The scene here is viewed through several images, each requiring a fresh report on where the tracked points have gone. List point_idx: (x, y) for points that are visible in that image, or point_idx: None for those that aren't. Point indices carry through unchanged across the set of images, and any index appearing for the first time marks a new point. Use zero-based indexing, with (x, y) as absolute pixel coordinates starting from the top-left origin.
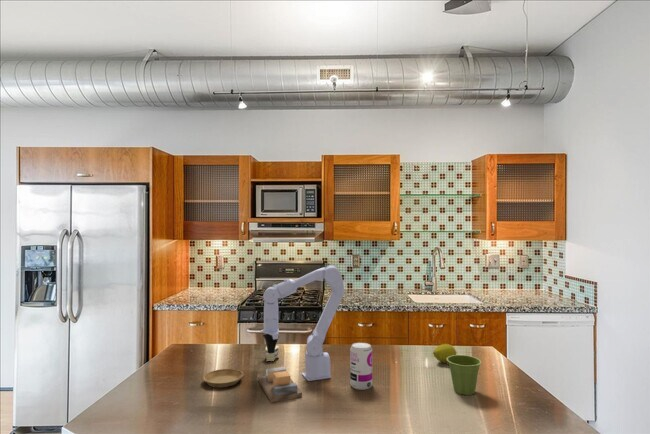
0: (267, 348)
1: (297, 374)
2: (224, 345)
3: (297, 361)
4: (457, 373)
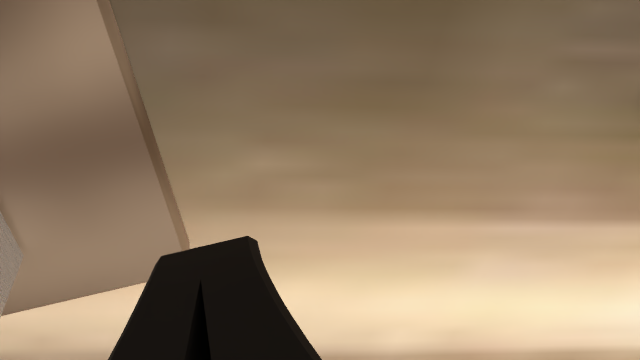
0: (215, 316)
1: None
2: None
3: (600, 337)
4: None
